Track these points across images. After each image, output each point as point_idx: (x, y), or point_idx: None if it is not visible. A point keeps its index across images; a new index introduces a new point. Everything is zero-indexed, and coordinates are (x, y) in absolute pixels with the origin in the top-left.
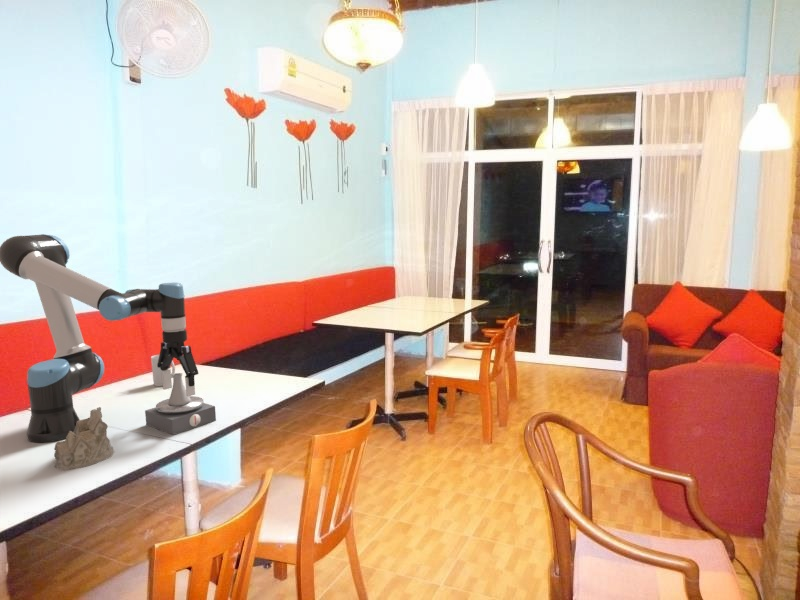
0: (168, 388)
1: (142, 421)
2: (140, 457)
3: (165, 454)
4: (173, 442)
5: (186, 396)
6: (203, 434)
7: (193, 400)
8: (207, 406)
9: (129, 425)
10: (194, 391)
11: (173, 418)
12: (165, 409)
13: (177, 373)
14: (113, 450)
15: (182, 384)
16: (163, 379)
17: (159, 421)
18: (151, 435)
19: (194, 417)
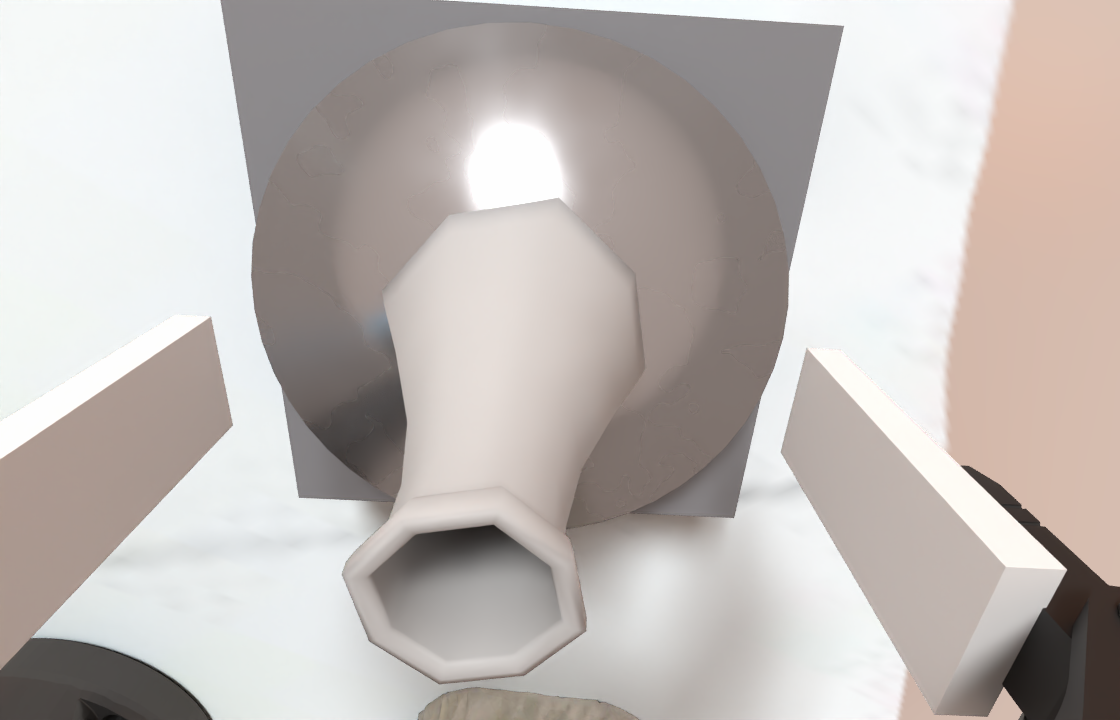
0: (219, 371)
1: (241, 399)
2: (806, 684)
3: None
4: (814, 511)
5: (618, 324)
6: (914, 330)
7: (583, 173)
8: (758, 90)
9: (259, 486)
10: (859, 377)
11: (717, 494)
12: (578, 510)
13: (388, 556)
14: (616, 716)
15: (570, 424)
16: (122, 528)
17: None
18: None
19: None
